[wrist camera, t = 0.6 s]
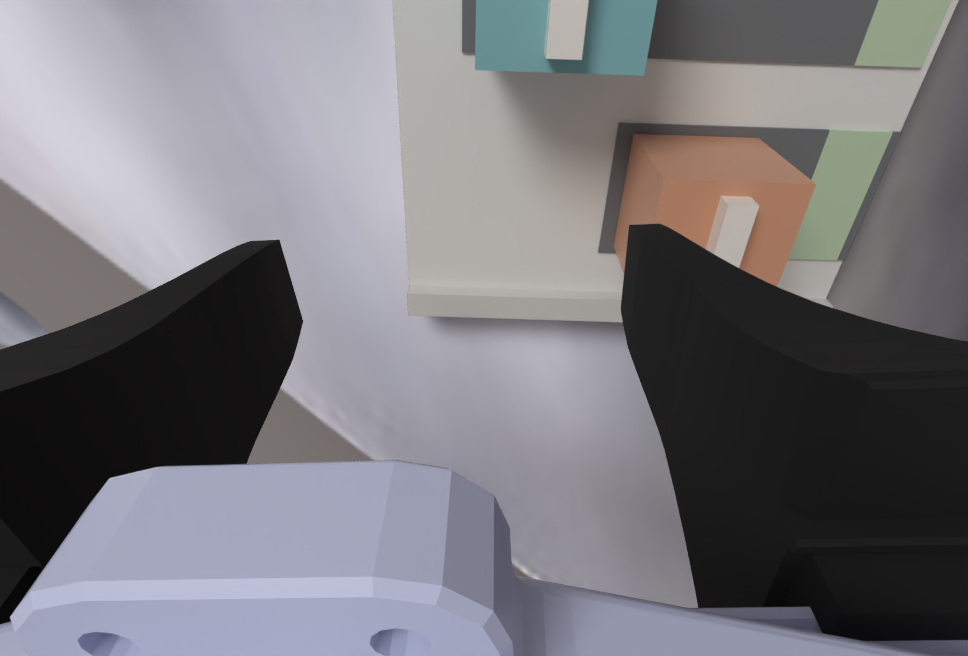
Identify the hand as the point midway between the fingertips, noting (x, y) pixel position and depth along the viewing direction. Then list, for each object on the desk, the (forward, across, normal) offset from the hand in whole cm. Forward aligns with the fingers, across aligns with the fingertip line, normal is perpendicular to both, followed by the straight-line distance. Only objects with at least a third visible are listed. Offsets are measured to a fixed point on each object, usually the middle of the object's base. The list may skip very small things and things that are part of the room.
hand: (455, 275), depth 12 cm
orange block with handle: (+8, -7, +2) cm, 11 cm away
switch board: (+10, -6, -1) cm, 11 cm away
